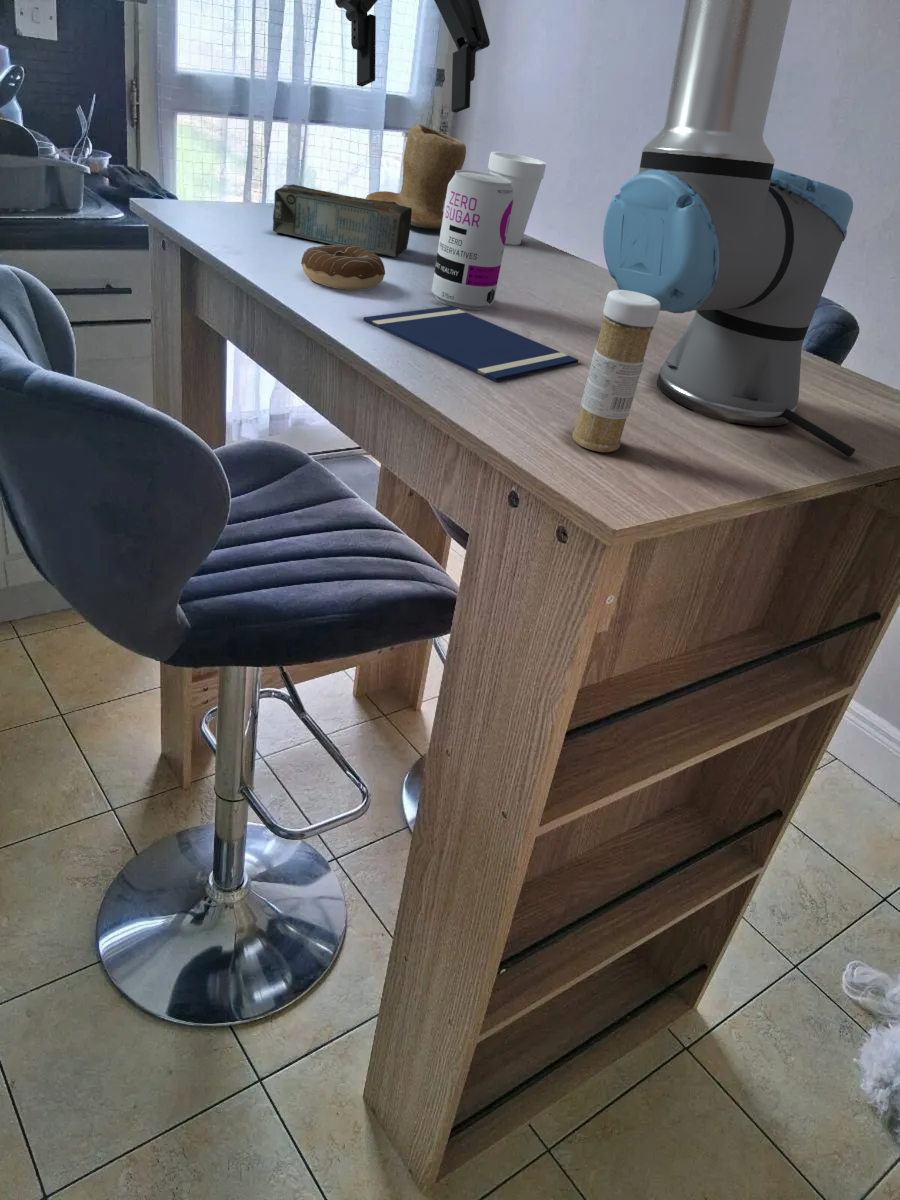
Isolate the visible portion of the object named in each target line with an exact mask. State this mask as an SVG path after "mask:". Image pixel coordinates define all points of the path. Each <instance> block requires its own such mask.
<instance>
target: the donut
mask: <svg viewBox="0 0 900 1200" xmlns="http://www.w3.org/2000/svg"><path fill="white" fill-rule="evenodd" d="M300 264H301V267H302V270H303V272H304V274H305V275H306V276H307V278H309V279H310V280H312V281H313V282H315V283H317V284H319V285H321V286H324V287H325V286H326V287H329V288H334V289H339V290H344V291H345V290H346V291H364V290H371V289H373V288H376V287H377V286H379V285H380V284H381V282H382V281H383V280H384V277H385V275H386V269H385V268H386V267H385V264H384V262H383V261H382V259H381V257H379V255H378V254H377V253H374V252H372V251H370V250H368V249H365V248H362V247H358V246H354V245H334V244H325V245H324V244H323V245H319V246H310V247H309V248H307V249H306V250H305V251H304V252H303V255H302V257H301V261H300Z"/></svg>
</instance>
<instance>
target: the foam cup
mask: <svg viewBox="0 0 900 1200" xmlns="http://www.w3.org/2000/svg"><path fill="white" fill-rule="evenodd" d="M488 159H489V160H488V163H487V169H488V174H492V175H496V176H499V177H503V178H505V179H508V180H510V181H511V182H512V183H511V186H512V189H513V193H514V199H513V205H512V210H511V215H510V220H509V225H508V231H507V236H506V241H505V245H512V246H514V245H515V246H517V245H521V244H522V243H521V242H522V240H523V238H524V233H525V231H526V229H527V225H528V222H529V219H530V217H531V213H532V211H533V207H534V204H535V201H536V198H537V195H538V192H539V189H540V185H541V183H542V180H543V179H544V178H545V177H544V176H545V172H546V166H547V162H545V161H544V160H541V159H537V158H535V157H531V156H527V155H522V154H517V153H511V152H505V151H490V152H489V158H488Z"/></svg>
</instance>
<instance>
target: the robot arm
mask: <svg viewBox="0 0 900 1200" xmlns="http://www.w3.org/2000/svg"><path fill="white" fill-rule="evenodd" d="M378 1H379V0H334V3H335V5H336V6H337V8H339V9H344V10H345V17H346V19H347V20H348V21H349V22H350V25H351V26H350V33H351V34H350V40H351V41H350V43H351V44H350V45H351V47H352V49H353V50H356V86H358V87H361V88H363V87H365V86H367V85H369V84H371V83H373V82H375V81H376V46H377V45H376V44H377V41H376V40H377V39H376V38H377V37H376V35H377V34H376V33H377V32H376V30H377V29H376V28H377V27H376V26H377V16H376V15H374V14H371V13H369V11H370V10H371V9H372V8H373V7H374V6H375V4H376V3H377V2H378ZM433 1H434V3H435V5H436V7H437V9H438V11H439V13H440V15H441V17H442V19H443V21H444V23H445V26H446V27H447V30H448V32H449V34H450V36H451V38H452V40H453V42H454V45H455V46H456V48H457V50H456V51H454V52H452V63H451V64H452V69H451V70H452V72H451V104H450V105H451V113H459V112H461V111H465V110H468V109H470V107H471V84H472V83H471V82H473V81H474V80H475V77H476V55H477V52H480V51H482V50H484V49H487V48H489V47H490V45H491V40H490V37H489V33H488V30H487V26H486V22H485V19H484V15H483V12H482V9H481V4H480V1H479V0H433ZM792 1H793V0H685V1H684V7H683V12H682V19H681V24H680V30H679V35H678V42H677V48H676V53H675V59H674V66H673V71H672V75H671V76H672V77H671V83H670V88H669V95H668V100H667V106H666V112H665V117H664V118H665V119H664V122H663V127H662V129H661V130H660V132H659V133H658V134H657V135H655V136H654V137H653V138H652V139H651V140H650V141H649V142H648V143H646V144H645V145H644V146H643V147H642V151H641V156H640V157H641V158H640V164H639V169H638V173H637V174H636V175H634V176H633V177H630V178H629V179H628V180H626V181H625V182H624V183H623V184H622V185H621V187H619V188H620V189H619V190H620V192H619V193H618V194H615V195H613V197H612V199H611V201H610V203H609V205H608V208H607V211H606V214H605V218H604V223H603V231H602V232H603V233H602V243H603V253H604V254H603V255H604V259H605V264H606V267H607V269H608V273H609V275H610V277H611V278H612V279H614V281H615V282H616V287H617V290H627V291H634V292H638V293H642V294H645V295H648V296H651V297H653V298H655V299H656V300H658V301H659V302H660V311H659V312H661V311H662V312H669V313H672V314H684V313H689V312H692V311H693V312H694V311H695V313H694V316H693V318H692V319H691V321H690V323H689V325H688V326H687V328H686V329H685V330H684V332H683V333H682V335H681V336H680V338H679V339H678V341H677V342H676V344H675V345H674V346H673V347H672V349H671V351H670V352H669V353H668V355H667V357H666V358H665V360H664V361H663V363H662V365H661V366H660V367H661V368H660V370H659V373H658V376H657V380H656V385H657V387H658V389H659V390H660V391H661V392H662V393H663V394H664V395H665V396H666V397H668V398H670V399H671V401H674V402H675V403H678V404H679V405H682V406H684V407H686V408H688V409H690V410H692V411H695V412H698V413H700V414H703V415H706V416H709V417H713V418H716V419H719V420H722V421H727V422H731V423H736V424H741V425H748V426H758V427H776V426H777V427H778V426H782V425H785V424H788V423H789V422H791V423H792V424H793V425H796V426H798V427H799V428H800V429H803V430H804V431H806V432H808V433H809V434H811V435H812V436H814V437H816V438H817V439H819V440H821V441H822V442H824V443H825V444H827V445H829V446H830V447H832V448H833V449H835V450H837V451H838V452H840V453H841V454H843V455H845V456H846V457H848V458H851V457H852V456H853V455H854V453H855V451H856V449H855V448H854V447H852V446H850V445H849V444H847V443H846V442H844V441H842V440H841V439H839V438H838V437H836V436H835V435H833V434H831V433H829V432H828V431H826V430H825V429H823V428H821V427H820V426H818V425H816V424H814V423H813V422H811V421H810V420H807V418H805V417H804V416H801V415H799V414H798V413H796V410H797V407H798V405H799V399H800V381H801V366H802V365H801V363H802V349H803V344H804V341H805V337H806V336H807V333H808V331H809V328H810V325H811V324H812V320H813V318H814V316H815V313H816V310H817V308H818V305H819V303H820V300H821V297H822V295H823V293H824V290H825V287H826V285H827V282H828V280H829V278H830V275H831V272H832V269H833V267H834V264H835V262H836V259H837V257H838V254H839V251H840V249H841V247H842V244H843V242H844V241H845V240H846V238H847V234H848V226H849V224H850V223H849V222H850V221H851V216H852V213H853V210H854V202H853V198H852V196H851V195H850V194H849V193H848V192H847V191H844V190H843V189H841V188H838V187H835V186H832V185H830V184H826V183H825V182H821V181H818V180H814V179H810V178H808V177H805V176H803V175H799V174H796V173H793V172H789V171H785V170H782V169H779V168H776V167H774V166H775V162H776V160H775V158H774V156H773V155H772V152H770V149H769V148H768V147H767V145H766V143H765V140H764V137H763V135H764V130H765V126H766V121H767V116H768V112H769V106H770V103H771V97H772V93H773V89H774V83H775V79H776V75H777V71H778V65H779V62H780V61H779V60H780V57H781V52H782V47H783V42H784V37H785V34H786V28H787V24H788V19H789V15H790V9H791V5H792ZM368 13H369V14H368Z"/></svg>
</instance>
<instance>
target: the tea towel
mask: <svg viewBox="0 0 900 1200" xmlns="http://www.w3.org/2000/svg"><path fill="white" fill-rule="evenodd" d="M362 319H363V322H365V323H368V324H370V325H372V326H374V327H376V328H379V329H380V330H383V331H385V332H387V333H389V334H392V335H393V336H396V337H398V338H400V339H402V340H404V341H407V342H409V343H411V344H412V345H413V344H414V345H415V346H418V347H420V348H422V349H424V350H425V351H428V352H431V353H433V354H435V355H437V356H439V357H442V358H443V359H445V360H448V361H450V362H452V363H455V364H457V365H459V366H461V367H464V369H468V370H470V371H472V372H473V373H476V374H478V375H481V376H483V377H485V378H487V379H489V380H492V381H494V382H499V381H504V380H508V379H512V378H516V377H517V378H518V377H521V376H525V375H530V374H535V373H539V372H544V371H549V370H553V369H556V368H562V367H565V366H571V365H575V364H578V363H579V359H578V358H576V357H573V356H571V355H569V354H566V353H564V352H561V351H559V350H556V349H554V348H552V347H550V346H548V345H544V344H542V343H539V342H538V341H535V340H533V339H530V338H529V337H526V336H523V335H521V334H518V333H516V332H513V331H512V330H508V329H506V328H504V327H501V326H499V325H497V324H494V323H492V322H490V321H487V320H485V319H483V318H480V317H478V316H476V315H474V314H471V313H468V312H466V311H464V310H462V309H460V308H457V307H453V306H450V305H447V306H442V307H433V308H426V309H418V310H409V311H401V312H395V313H386V314H377V315H369V316H364V317H363V318H362Z"/></svg>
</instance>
